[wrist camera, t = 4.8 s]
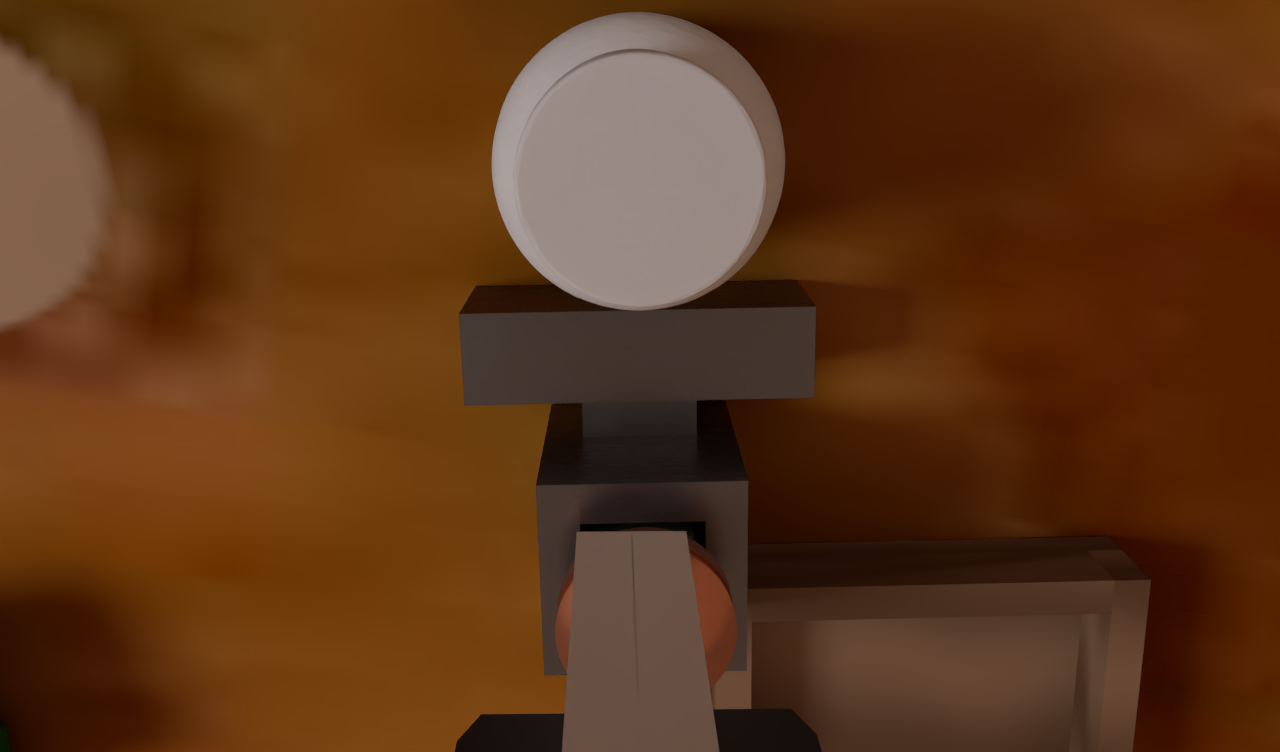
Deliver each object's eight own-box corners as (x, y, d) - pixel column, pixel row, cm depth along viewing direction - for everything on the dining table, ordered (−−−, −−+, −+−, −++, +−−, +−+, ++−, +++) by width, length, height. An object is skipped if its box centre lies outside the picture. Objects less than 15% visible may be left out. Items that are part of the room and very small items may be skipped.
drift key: (566, 442, 32) (551, 550, 25) (712, 439, 32) (737, 546, 26) (571, 576, 33) (558, 715, 27) (712, 573, 34) (736, 711, 27)
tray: (708, 545, 35) (715, 589, 32) (1108, 536, 36) (1150, 579, 33) (708, 884, 39) (715, 953, 36) (1075, 875, 39) (1111, 942, 36)
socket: (453, -113, 30) (409, -153, 24) (803, -119, 30) (851, -160, 24) (491, 565, 35) (463, 677, 29) (791, 558, 36) (827, 668, 29)
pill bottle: (633, 297, 33) (640, 416, 23) (472, 140, 32) (398, 188, 21) (794, 137, 32) (880, 184, 22) (633, -32, 31) (639, -71, 20)
